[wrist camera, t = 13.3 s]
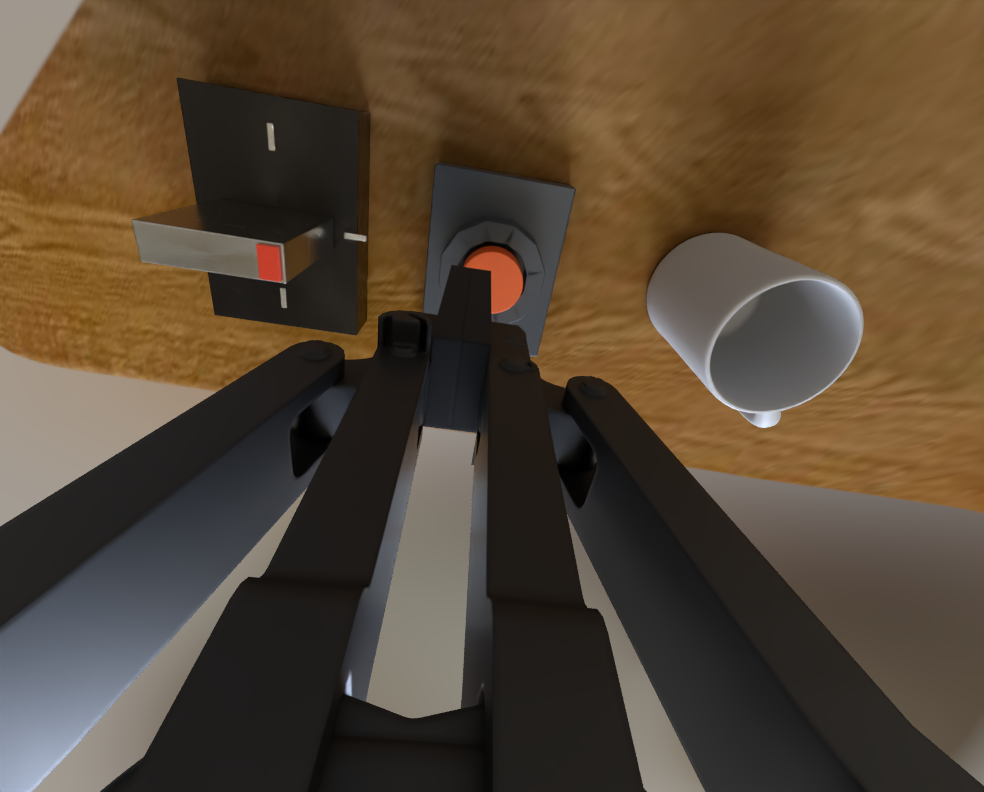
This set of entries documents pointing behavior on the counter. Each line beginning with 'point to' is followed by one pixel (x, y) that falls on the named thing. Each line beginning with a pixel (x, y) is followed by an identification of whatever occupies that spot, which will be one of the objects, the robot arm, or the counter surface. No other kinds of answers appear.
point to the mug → (754, 323)
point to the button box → (498, 235)
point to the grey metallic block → (235, 239)
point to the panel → (286, 195)
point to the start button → (499, 275)
